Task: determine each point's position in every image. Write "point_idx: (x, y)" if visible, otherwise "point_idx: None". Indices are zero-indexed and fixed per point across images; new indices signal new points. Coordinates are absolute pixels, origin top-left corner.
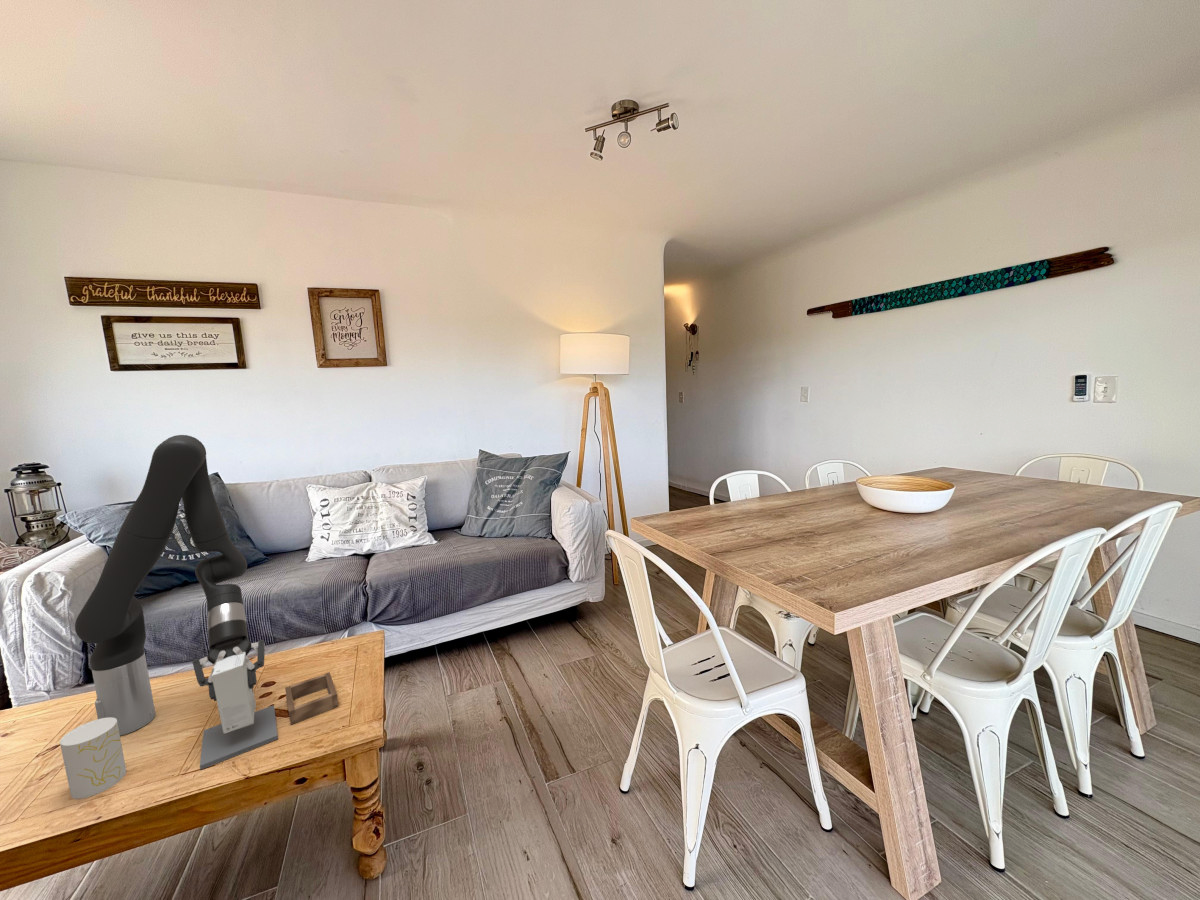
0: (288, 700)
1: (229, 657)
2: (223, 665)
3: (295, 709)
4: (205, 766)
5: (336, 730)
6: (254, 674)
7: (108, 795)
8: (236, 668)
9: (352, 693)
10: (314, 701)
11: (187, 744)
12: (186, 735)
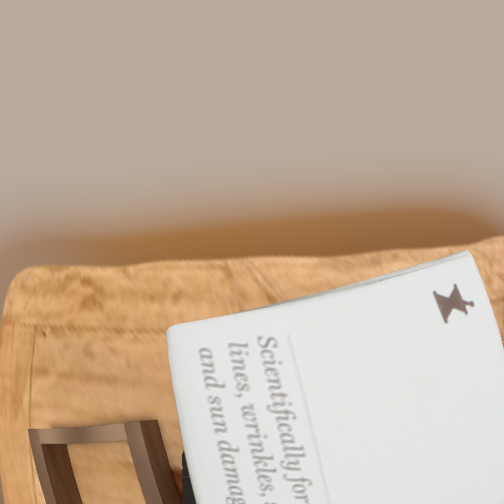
0: (156, 494)
1: None
2: (453, 443)
3: (121, 423)
4: None
5: (56, 325)
6: (188, 489)
7: (497, 296)
8: (243, 315)
9: (32, 466)
10: (74, 432)
11: None
12: None
